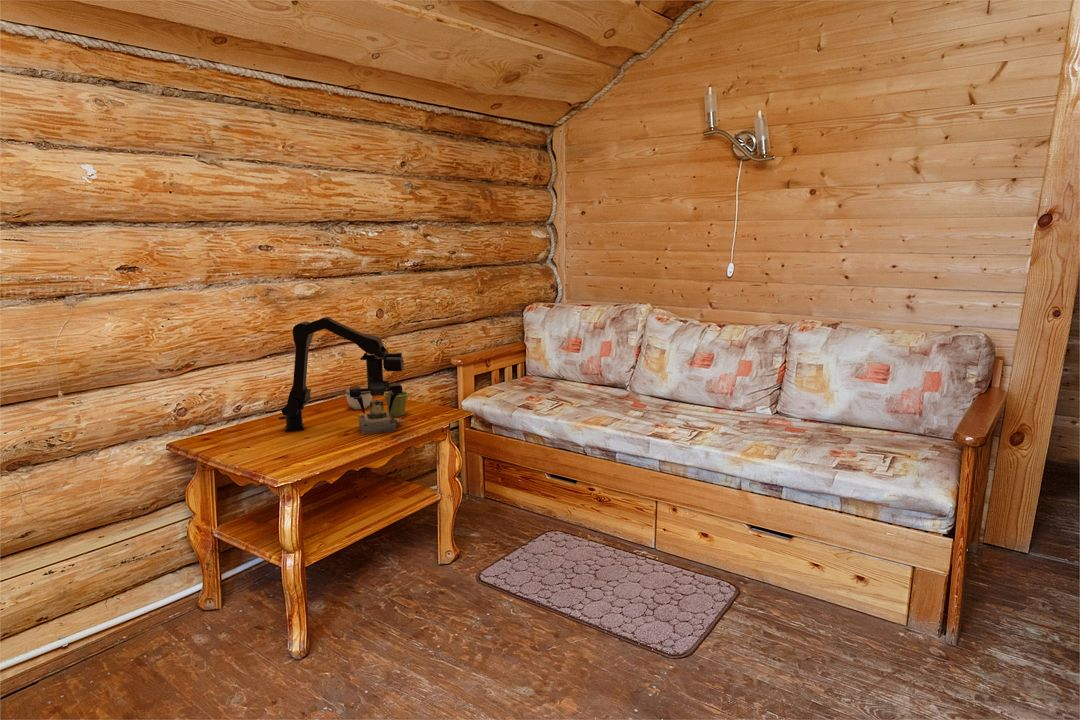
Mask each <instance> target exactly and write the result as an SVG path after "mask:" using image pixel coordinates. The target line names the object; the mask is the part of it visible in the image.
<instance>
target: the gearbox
mask: <svg viewBox="0 0 1080 720" xmlns="http://www.w3.org/2000/svg"><path fill="white" fill-rule="evenodd" d="M358 421H359V423H358V424H359V426H360V430H361V434H362V436H363V435H370V434H371V435H372V434H379V433H380V434H382V433H393V432H397V425H402V424H403V418H395V417H394V416H392V413H389V411H384V418H376V419H370V412H368V413H365V414H362V415H360V416H358Z"/></svg>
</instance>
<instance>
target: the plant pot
mask: <svg viewBox="0 0 1080 720" xmlns="http://www.w3.org/2000/svg"><path fill="white" fill-rule="evenodd" d="M389 392H390V391H389ZM389 392H384V395H383V396H384V398H385V400H386V405H387V410H388V411H387V412H388V413H392V416H393V417H401V416H404V415H405V414H406V406H407V405H406V403H407V398H408V395H409V392H408V391H405V390H402V392H403V393H400V394H399V396H396V397H395V399H394V401H393V404H392V407H391V411H390V412H389Z"/></svg>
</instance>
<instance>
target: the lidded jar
mask: <svg viewBox="0 0 1080 720" xmlns="http://www.w3.org/2000/svg"><path fill="white" fill-rule="evenodd" d="M357 386H360V388H361V389H362V388H368V386H361V384H359V385H357ZM349 388H350V387H349ZM349 388H346V389H345V397H346V401H347V403H348V405H349V406H350V407H351V408H352V409H353V410H362V409H361V406H360V404H359V402H358V400H357V399H354V398H353V397H350V395H349ZM361 396H362V400H363V405H364V410H366V409H368V407H369V401H371V400H373V396H371V393H364V394H361Z"/></svg>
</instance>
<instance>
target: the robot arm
mask: <svg viewBox="0 0 1080 720" xmlns="http://www.w3.org/2000/svg"><path fill="white" fill-rule="evenodd" d="M322 330H326V331H328V332H330V333H332V334H335V335H336V336H339V337H340V338H344V339H345V340H347V341H349V342H351V343H353V344H355V345H356V346H357V347H358V348H360V349H361V351H362V350H363V351H364V352H365V353H363V355H362V356H361V357H360V358H359V360H360V361H365V365H366V382H367V386H366V387H368V388H362V389H361V388H360V387H361V385H360V386H358V385H356V386H350V387H349V395H350V397H353V398H354V399H357V400H358V402H359V404H360V406H361V409H360V410H361V411H362V413H363V414H362V415H364V414H366V413H365V410H366V409H364V405H363V400H362V396H361V394H364V393H371V396H372V397H375V396H384V393H387V392H389V411H388V413H389V412H390V411H391V407H392V404H393V401H394V399H395V397H396V396H399V394H400V393H403V392H402V391H403V386H402V385H401V383H400V382H398V383H397V382H396V383H390V381H389V380H384V370H385V371H386V372H403V371H404V368H405V367H404V366H405V361H404V357H403V353H402V352H393V353H390V352H389V351H388V349H387V348H386V347H385V346H384V344H383V341H382V340H383V339H381V337H379V336H375V335H372V334H368V333H364V332H363V333H362V332H359V331H357V330H355V329H353V328H351V327H349V326H348V325H345V324H343V323H341V322H339V321H337V320H334V319H332V318H331V317H330V316H324V317H322V318H320V319H316V320H314V321H311V322H310V321H307V320H305V321H301V322H299V323H297V324H295V325H294V326H293V327H292V338H293V342H294V345H295V352H294V369H293V382H292V387H291V389H290V392H289V395H288V397H287V401H286V403H287V404H285V406H284V407H282V408H281V409H280V410H281V413H282V415H283V416H285V426H284V427H285V429H284V431H285V432H291V431H293V432H294V431H302V430H305V423H303V411H302V410H304V408H305V406H306V405H307V404H308V403H309V401H310V400H311V391H312V389H311V388H308V387H307V373H308V361H309V350H310V349H309V348H310V344H311V342H312V340H313V336H314V333H316V332H319V331H322Z"/></svg>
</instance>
